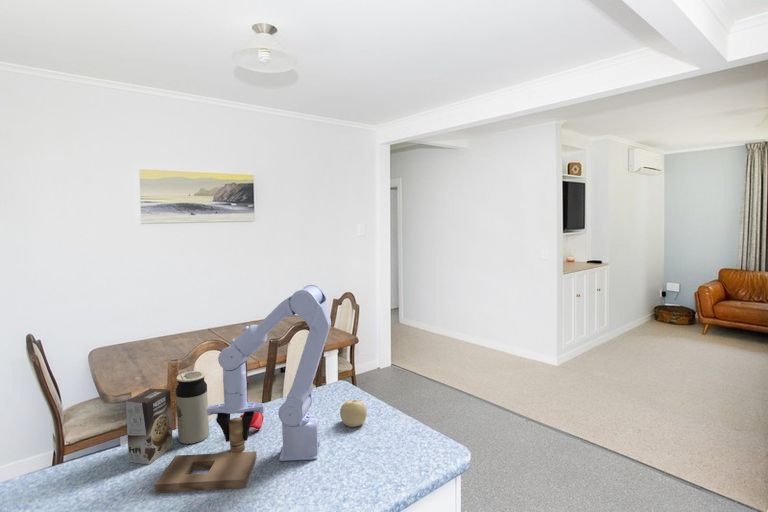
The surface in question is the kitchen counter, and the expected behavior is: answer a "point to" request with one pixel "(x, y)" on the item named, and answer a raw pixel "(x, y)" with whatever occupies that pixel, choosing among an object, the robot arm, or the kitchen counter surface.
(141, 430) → the coffee box
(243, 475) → the walnut board
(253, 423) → the cap
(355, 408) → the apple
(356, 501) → the kitchen counter surface
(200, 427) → the travel mug
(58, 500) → the kitchen counter surface
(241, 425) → the oak peg
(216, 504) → the kitchen counter surface
